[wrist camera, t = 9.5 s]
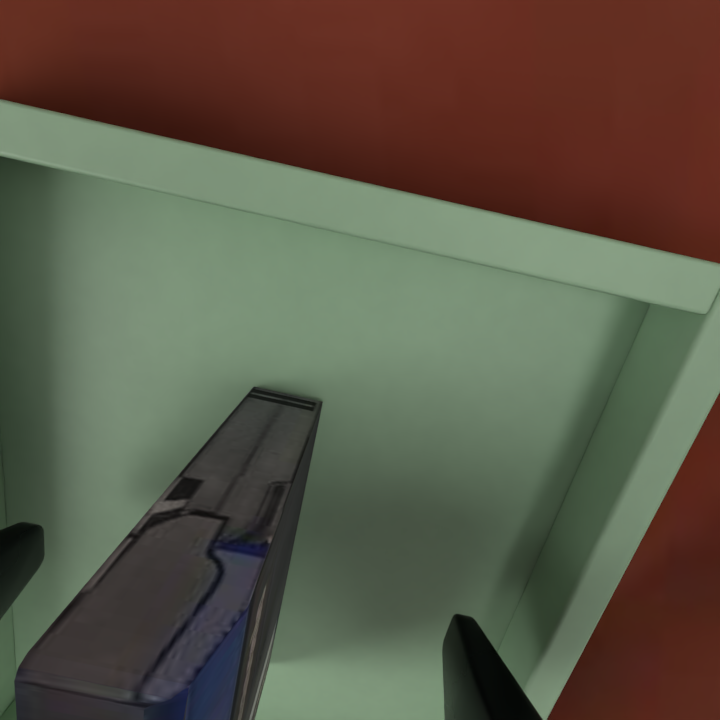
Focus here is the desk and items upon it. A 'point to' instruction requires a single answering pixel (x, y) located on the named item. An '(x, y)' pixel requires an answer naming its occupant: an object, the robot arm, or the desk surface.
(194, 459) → the mini dv tape
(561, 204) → the desk surface
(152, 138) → the tray
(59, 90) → the desk surface
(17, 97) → the desk surface
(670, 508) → the desk surface
